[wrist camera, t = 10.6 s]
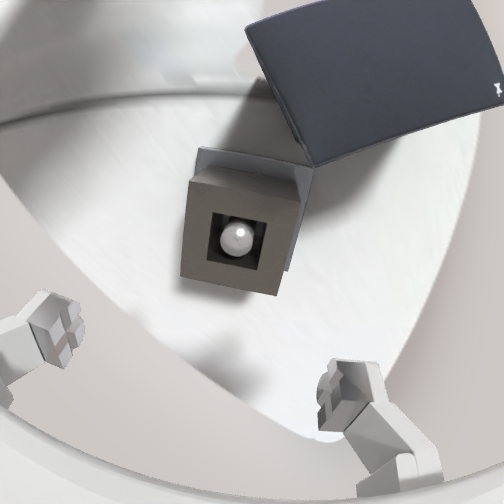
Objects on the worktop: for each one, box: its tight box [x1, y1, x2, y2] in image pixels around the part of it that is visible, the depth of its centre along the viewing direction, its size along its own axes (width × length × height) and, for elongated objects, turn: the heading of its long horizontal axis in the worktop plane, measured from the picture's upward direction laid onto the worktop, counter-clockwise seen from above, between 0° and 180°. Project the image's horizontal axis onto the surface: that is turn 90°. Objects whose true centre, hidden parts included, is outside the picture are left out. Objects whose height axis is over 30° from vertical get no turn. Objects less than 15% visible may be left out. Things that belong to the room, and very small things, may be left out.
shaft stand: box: [194, 146, 314, 272], centre depth 19 cm, size 8×8×6 cm
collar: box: [180, 165, 301, 296], centre depth 19 cm, size 6×6×5 cm
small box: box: [245, 0, 504, 168], centre depth 12 cm, size 11×6×10 cm, turn 116°
